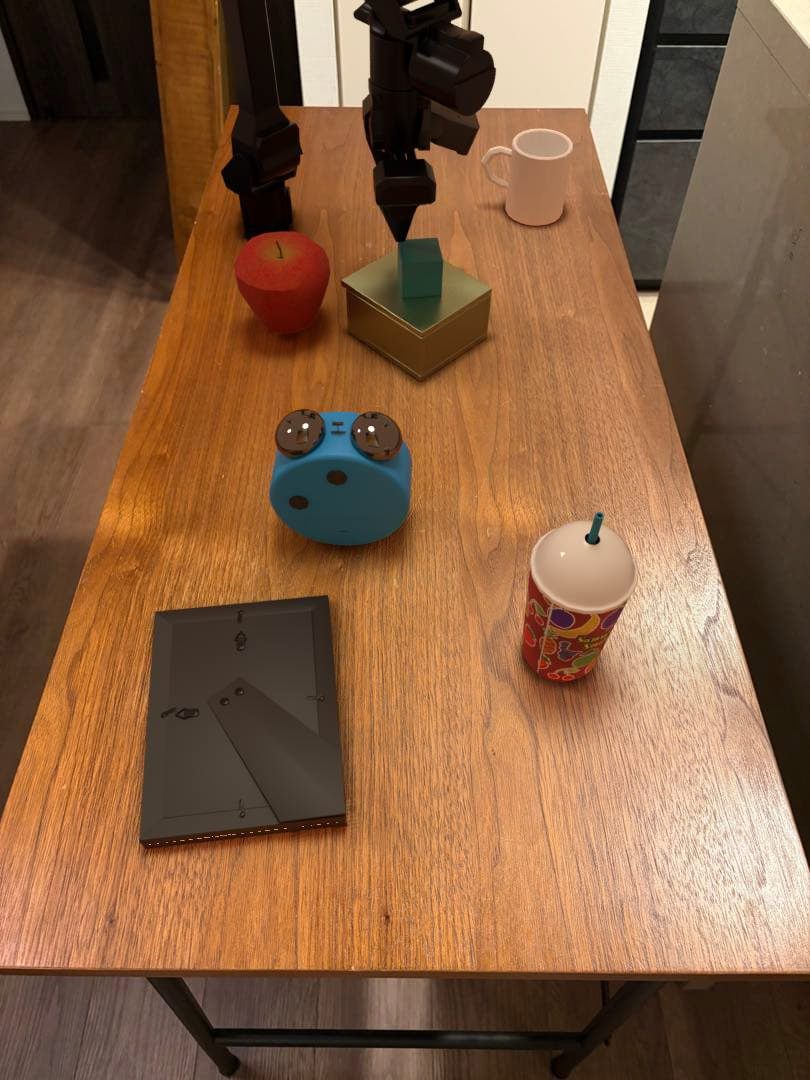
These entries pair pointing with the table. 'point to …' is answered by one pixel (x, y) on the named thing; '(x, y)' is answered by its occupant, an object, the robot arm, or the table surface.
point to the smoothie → (575, 597)
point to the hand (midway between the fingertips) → (396, 217)
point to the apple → (283, 279)
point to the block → (420, 267)
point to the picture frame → (242, 723)
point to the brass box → (410, 348)
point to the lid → (415, 312)
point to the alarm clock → (341, 476)
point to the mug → (534, 175)
